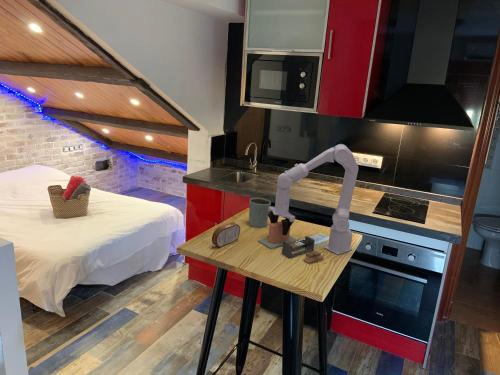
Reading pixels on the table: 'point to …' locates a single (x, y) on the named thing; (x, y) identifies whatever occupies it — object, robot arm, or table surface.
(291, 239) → the mat
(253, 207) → the grey cylindrical pot
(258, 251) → the table surface
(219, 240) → the tin
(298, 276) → the table surface
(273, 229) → the salmon pink rectangular block
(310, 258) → the offcut stack
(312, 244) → the rack
